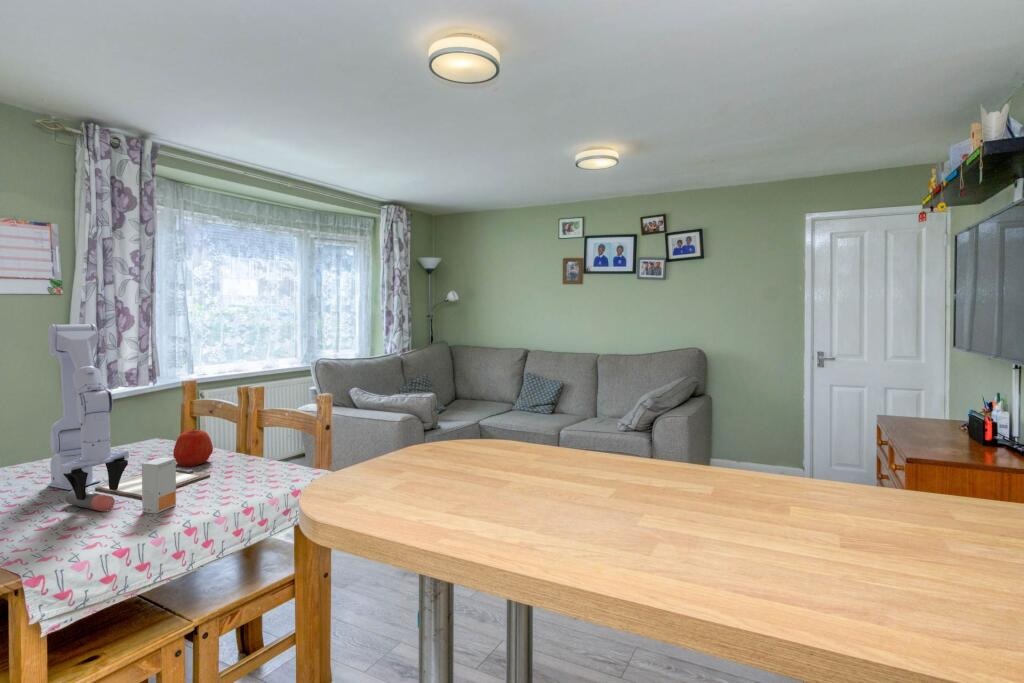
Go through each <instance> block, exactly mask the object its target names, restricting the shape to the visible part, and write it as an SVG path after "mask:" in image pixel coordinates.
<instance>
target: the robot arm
mask: <svg viewBox="0 0 1024 683" xmlns="http://www.w3.org/2000/svg"><path fill="white" fill-rule="evenodd" d="M98 342H99V331H98V327H97V325H95V324H94V323H89V324H87V323H86V324H85V323H84V324H83V323H82V324H79V323H78V324H77V323H76V324H54V323H51V324H50V325H49V326H48V329H47V346H48V351H49V355H51V356H54V357H57V359H58V362H59V367H60V370H59V371H60V381H61V382H60V385H61V388H60V389H61V401H62V402H61V403H62V417H61V418H60V419H58V420H57V421H55V422H54V423H52V424H51V427H50V435H49V446H50V451H51V452H52V453H53V454H54V455H53V456H52V458H51V460H50V463H49V464H50V483H47V486H48V487H52V488H58V489H63V490H67V491H72V490H74V492H75V495H76V498H77V499H78V500H85V498H86V492H87V488H86V486H90V485H93V484H96V483H99V482H102V481H101V479H99V478H95V477H93V476H94V473H93V467H95V466H96V467H97V466H100V465H103V464H105V468H106V470H107V477H108V478H107V479H108V480H107V481H108V484H109V489H111V490H117V489H118V486H119V482H120V480H122V479H121V478H122V476H123V473H124V471H125V469H126V468H127V466H128V465H129V464H128V463H129V461H128V459H129V457H130V453H129V450H125V449H121V450H117V451H112V448H111V447H112V446H111V417H110V415H111V414H110V413H112V411H113V407H114V406H113V405H114V400H113V394H112V392H111V390H110V389H109V387H108V386H106V385H105V382H104V378H103V375H102V371H101V370H100V369H99V368H98V367H95V366H94V359H93V350H95V349H96V346H97V344H98Z"/></svg>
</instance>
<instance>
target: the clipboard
mask: <svg viewBox="0 0 1024 683" xmlns="http://www.w3.org/2000/svg"><path fill="white" fill-rule="evenodd" d="M210 477H211V474H207V473H202V472H196V471H194V469H188V468H183V467H176V489H177V488H181V487H183V486H186V485H190V484H192V482H193V483H195V481H196V482H199V481H201V479H202V480H205V479H208V478H210ZM204 478H205V479H204ZM198 480H199V481H198ZM189 483H190V484H189ZM94 490H95V491H98V490H99V492H103V491H104V492H103V493H108V492H110V493H109V494H113V493H114V494H115V495H118V494H119V496H124V497H129V498H134V499H141V500H142V473H141V474H138V475H137V474H136V475H133V476H130V477H127V478H123V479H120V482H119V486H118V489H117V490H111V489H109V483H106V484H103V485H99V486H97V487H94Z"/></svg>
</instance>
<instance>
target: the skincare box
mask: <svg viewBox="0 0 1024 683" xmlns="http://www.w3.org/2000/svg"><path fill="white" fill-rule="evenodd" d="M176 465H177V462H176V459H175V458H174V457H159V458H156V459H152V460H149V461H146V462H144V463H143V462H142V463H141V474H142V499H141V501H142V502H141V504H142V506H141V508H142V510H141V511H142V513H146V514H154V515H155V514H159V513H161V512H164V511H166V510H168V509H170V508H173V507H176V505H177V488H176V468H177V467H176Z"/></svg>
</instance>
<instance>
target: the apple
mask: <svg viewBox="0 0 1024 683" xmlns="http://www.w3.org/2000/svg"><path fill="white" fill-rule="evenodd" d="M213 452H214V446H213V443H212V439H211V437H210V435H209V434H208V433H207V431H204V430H199V429H191V430H186V431H183V432H182V433H180V434H179V436H178V437H177V440H176V442H175V444H174V447H173V452H172V453H173V458H175V459H176V465H179V466H181V467H182V466H183V467H194V466H198V465H200V464H203V463H206V462H207V461H208V460H209V458H210V456H211V455H212V454H213Z"/></svg>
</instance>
